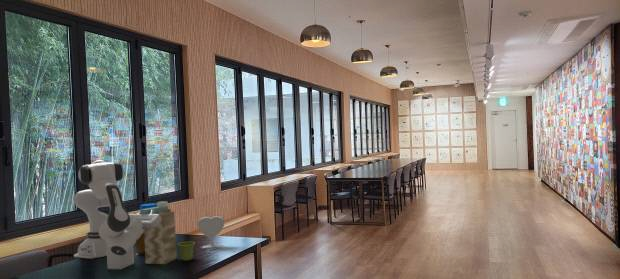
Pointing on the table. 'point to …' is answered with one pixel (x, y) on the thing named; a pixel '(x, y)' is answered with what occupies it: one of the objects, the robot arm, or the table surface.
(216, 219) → the heart sculpture
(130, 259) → the white rectangular block
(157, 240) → the zigzag patterned block
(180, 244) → the plant pot
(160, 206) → the teal green bar
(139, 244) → the condiment
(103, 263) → the table surface
